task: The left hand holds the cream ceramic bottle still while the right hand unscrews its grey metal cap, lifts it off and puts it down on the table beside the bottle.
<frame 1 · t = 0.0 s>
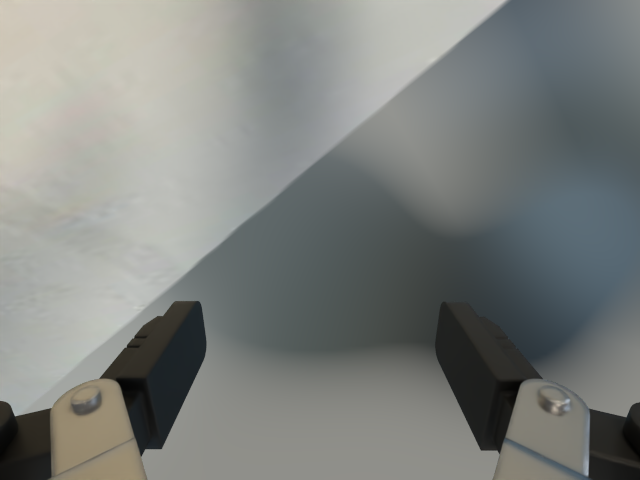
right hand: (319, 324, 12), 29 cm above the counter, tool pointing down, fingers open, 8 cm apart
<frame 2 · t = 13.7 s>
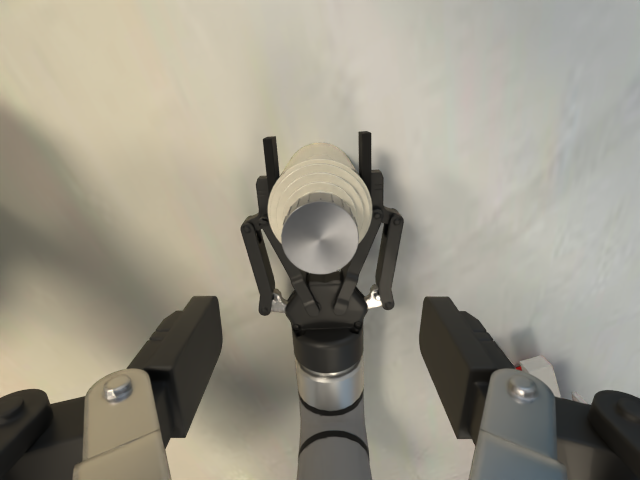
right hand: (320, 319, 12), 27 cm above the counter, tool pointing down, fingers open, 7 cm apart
left hand: (316, 135, 30), fingers closed on bottle, 7 cm apart
bottle: (320, 178, 37), on the counter, touching left hand
cap: (320, 237, 20), point 19 cm above the counter, screwed on, not yet turned
toy: (521, 426, 50), on the counter
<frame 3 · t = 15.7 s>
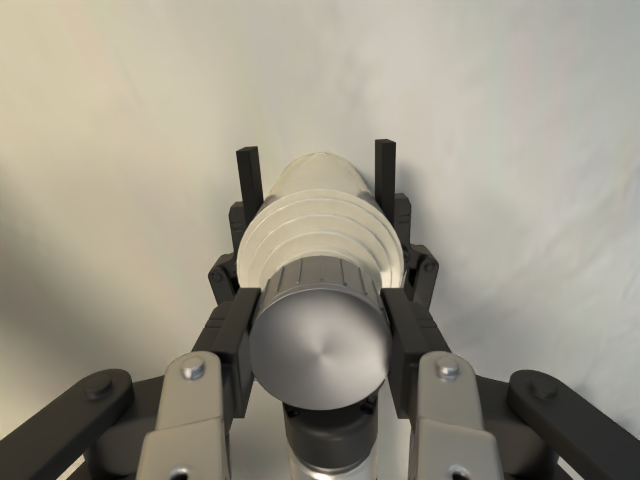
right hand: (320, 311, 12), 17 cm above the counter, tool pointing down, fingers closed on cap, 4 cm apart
bottle: (320, 199, 28), on the counter, touching left hand
cap: (320, 347, 10), point 19 cm above the counter, screwed on, not yet turned, touching right hand
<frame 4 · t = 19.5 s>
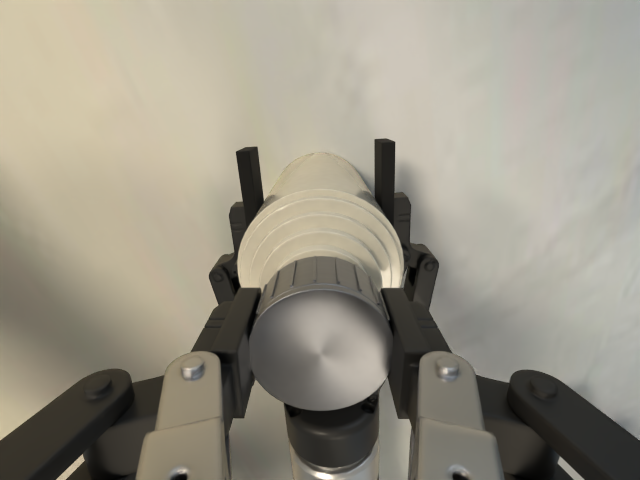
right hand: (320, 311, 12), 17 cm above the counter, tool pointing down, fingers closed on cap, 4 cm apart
bottle: (320, 199, 28), on the counter, touching left hand
cap: (321, 348, 10), point 19 cm above the counter, turned 95° so far, risen 0.1 cm, still on its thread, touching right hand
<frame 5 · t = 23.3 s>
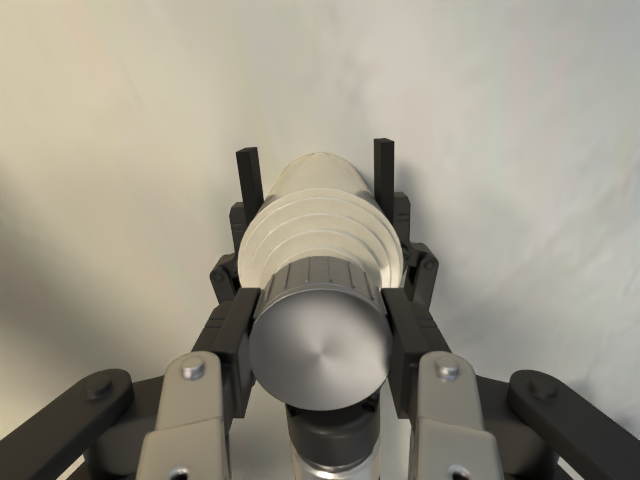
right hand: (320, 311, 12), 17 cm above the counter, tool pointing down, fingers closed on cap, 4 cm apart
bottle: (320, 198, 28), on the counter, touching left hand
cap: (320, 347, 10), point 19 cm above the counter, turned 191° so far, risen 0.2 cm, still on its thread, touching right hand
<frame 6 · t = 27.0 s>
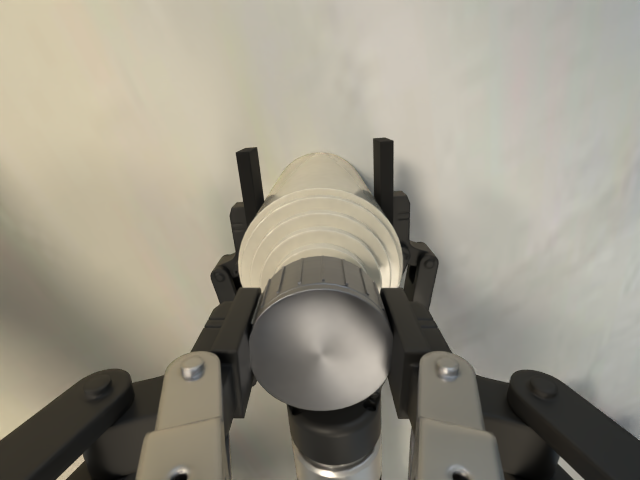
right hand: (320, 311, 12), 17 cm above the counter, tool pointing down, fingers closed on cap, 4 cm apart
bottle: (320, 198, 28), on the counter, touching left hand
cap: (321, 348, 10), point 19 cm above the counter, turned 286° so far, risen 0.3 cm, still on its thread, touching right hand
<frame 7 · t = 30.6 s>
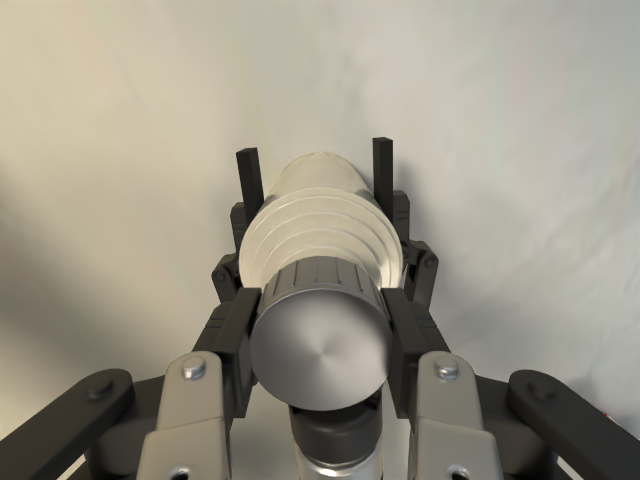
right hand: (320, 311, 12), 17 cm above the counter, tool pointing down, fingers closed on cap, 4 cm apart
bottle: (320, 198, 29), on the counter, touching left hand
cap: (321, 348, 10), point 19 cm above the counter, turned 382° so far, risen 0.3 cm, still on its thread, touching right hand
when the right hand's fingers open (1 cm above the counter, at t = 37.9 s): cap stays where it is, point 2 cm above the counter.
when the left hand's fingers open (7 cm above the counter, at t = 39.0 s): bottle stays where it is, on the counter.
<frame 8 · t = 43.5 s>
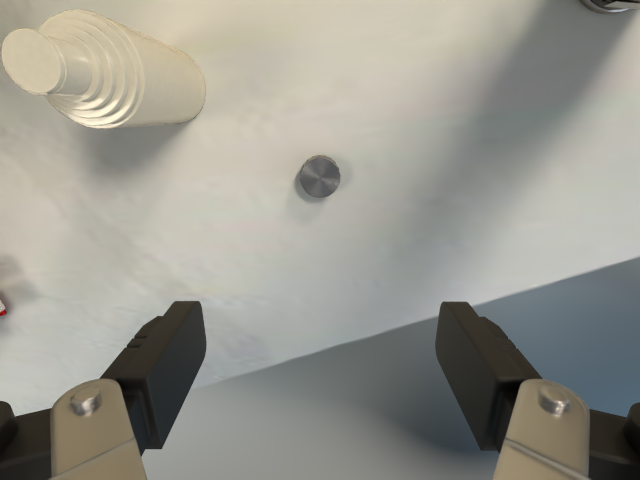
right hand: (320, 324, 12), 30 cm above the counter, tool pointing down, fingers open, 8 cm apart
bottle: (170, 86, 37), on the counter
cap: (320, 177, 38), point 2 cm above the counter, off its thread
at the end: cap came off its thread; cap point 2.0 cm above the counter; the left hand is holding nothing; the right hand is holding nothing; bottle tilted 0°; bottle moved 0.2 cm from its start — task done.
